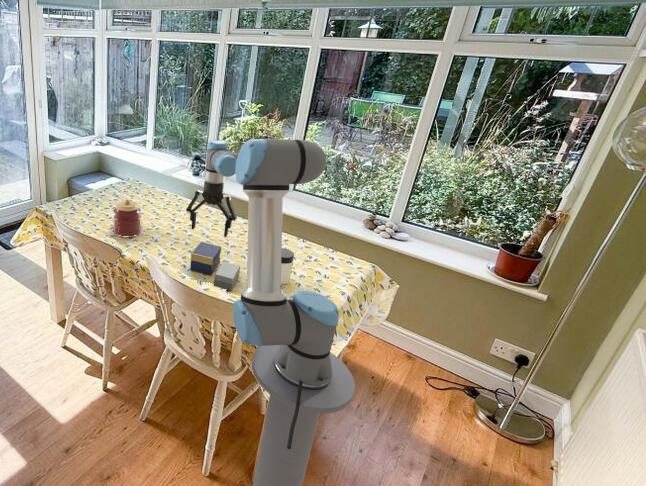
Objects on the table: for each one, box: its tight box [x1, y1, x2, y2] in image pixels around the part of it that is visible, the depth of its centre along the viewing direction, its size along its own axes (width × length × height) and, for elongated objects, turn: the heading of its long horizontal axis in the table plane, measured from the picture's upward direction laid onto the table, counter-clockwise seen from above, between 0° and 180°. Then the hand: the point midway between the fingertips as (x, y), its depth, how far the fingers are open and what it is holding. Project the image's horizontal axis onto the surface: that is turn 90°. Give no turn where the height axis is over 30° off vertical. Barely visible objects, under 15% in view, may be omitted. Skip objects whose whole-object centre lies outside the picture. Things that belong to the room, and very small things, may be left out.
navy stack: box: [189, 254, 221, 277], centre depth 171 cm, size 12×9×5 cm
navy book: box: [190, 241, 222, 265], centre depth 169 cm, size 12×9×3 cm
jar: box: [281, 247, 295, 285], centre depth 162 cm, size 9×8×12 cm
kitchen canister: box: [113, 198, 142, 236], centre depth 197 cm, size 13×13×18 cm
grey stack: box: [212, 261, 241, 292], centre depth 160 cm, size 12×7×5 cm, turn 153°
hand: (209, 231), depth 166 cm, fingers open, 13 cm apart
